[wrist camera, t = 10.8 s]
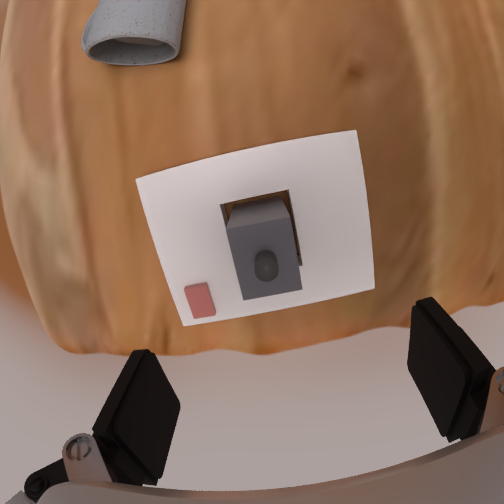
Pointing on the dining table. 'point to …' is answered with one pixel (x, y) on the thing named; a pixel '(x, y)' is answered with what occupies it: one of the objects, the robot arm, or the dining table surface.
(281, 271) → the plug
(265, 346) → the dining table surface
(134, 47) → the ceramic mug
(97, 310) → the dining table surface
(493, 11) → the dining table surface
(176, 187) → the socket plate
